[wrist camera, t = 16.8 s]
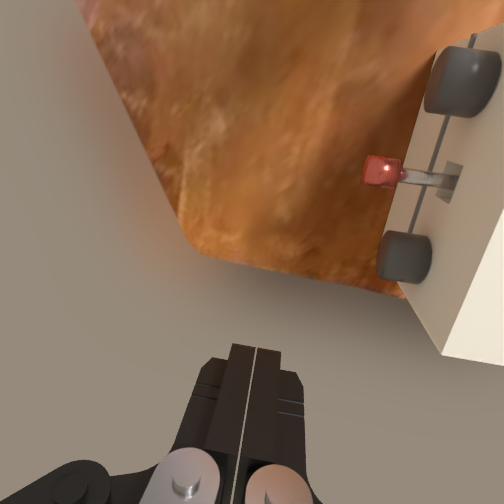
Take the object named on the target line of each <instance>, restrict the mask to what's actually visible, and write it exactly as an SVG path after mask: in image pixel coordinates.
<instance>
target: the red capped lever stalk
mask: <svg viewBox="0 0 504 504" xmlns="http://www.w3.org/2000/svg"><path fill="white" fill-rule="evenodd" d="M459 177H460V176H458V175H452V174H445V173H438V172H431V171H424V170H417V169H410V168H403V167H402V161H401V159H395V158H388V157H381V156H374V155H367V156H366V158H365V161H364V163H363V167H362V171H361V184H362V185H368V186H375V187H382V188H389V189H394V188H395V187H396V185H397V183H398V182H400V183H406V184H413V185H420V186H427V187H434V188H441V189H447V190H454V191H455V188H456V185H457V182H458V180H459Z"/></svg>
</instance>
